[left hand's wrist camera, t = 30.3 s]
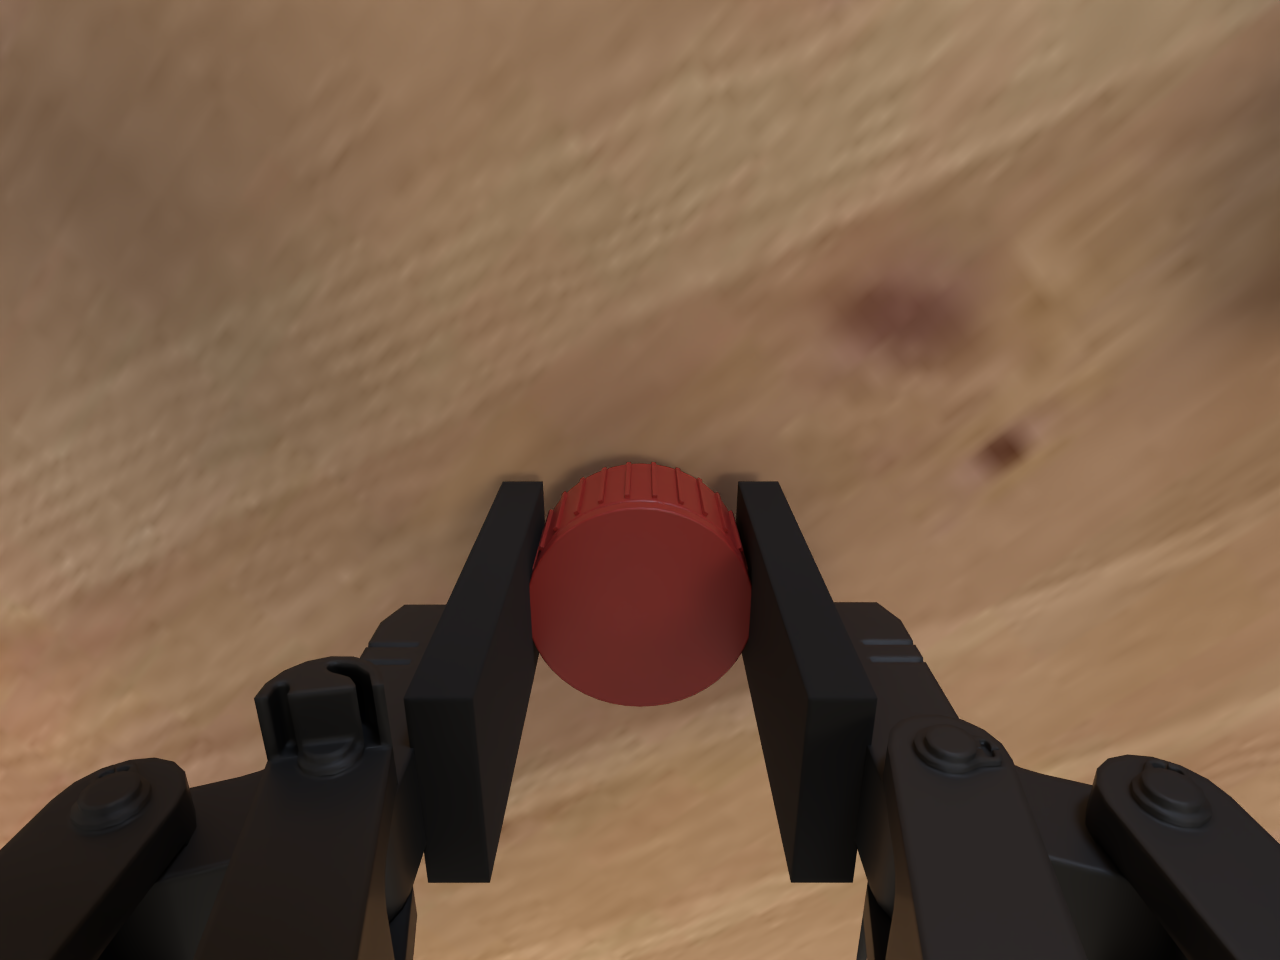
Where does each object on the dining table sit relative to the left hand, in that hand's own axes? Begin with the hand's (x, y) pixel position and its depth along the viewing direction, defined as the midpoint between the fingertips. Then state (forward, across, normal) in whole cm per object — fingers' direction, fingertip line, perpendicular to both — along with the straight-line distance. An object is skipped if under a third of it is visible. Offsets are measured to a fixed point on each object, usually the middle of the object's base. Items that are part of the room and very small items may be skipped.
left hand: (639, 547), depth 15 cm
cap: (-2, 0, 0) cm, 2 cm away
